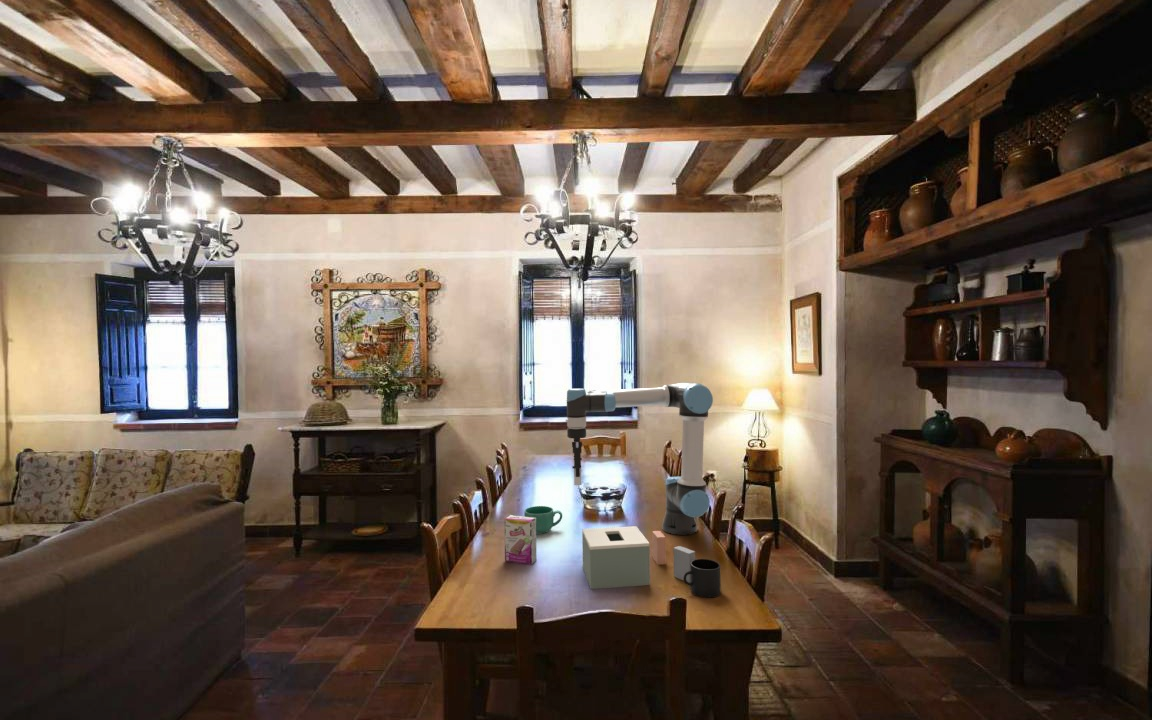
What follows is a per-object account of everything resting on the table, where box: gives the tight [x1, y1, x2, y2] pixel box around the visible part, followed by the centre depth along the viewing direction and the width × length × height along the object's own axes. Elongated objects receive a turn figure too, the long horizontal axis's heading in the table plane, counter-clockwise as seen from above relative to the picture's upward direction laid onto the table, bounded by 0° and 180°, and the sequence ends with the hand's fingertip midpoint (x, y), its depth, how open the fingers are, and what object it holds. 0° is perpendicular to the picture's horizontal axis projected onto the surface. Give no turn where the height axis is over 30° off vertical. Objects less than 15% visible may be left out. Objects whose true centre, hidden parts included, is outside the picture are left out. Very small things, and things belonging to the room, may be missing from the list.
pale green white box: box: [581, 525, 651, 590], centre depth 189 cm, size 20×18×14 cm
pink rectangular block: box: [651, 530, 667, 566], centre depth 202 cm, size 3×7×10 cm, turn 8°
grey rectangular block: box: [672, 545, 696, 583], centre depth 186 cm, size 3×7×10 cm, turn 38°
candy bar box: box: [504, 514, 537, 566], centre depth 203 cm, size 11×5×16 cm, turn 71°
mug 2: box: [683, 558, 722, 599], centre depth 175 cm, size 9×12×9 cm
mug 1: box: [523, 505, 563, 535], centre depth 238 cm, size 17×13×10 cm
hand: (577, 480), depth 216 cm, fingers open, 13 cm apart
